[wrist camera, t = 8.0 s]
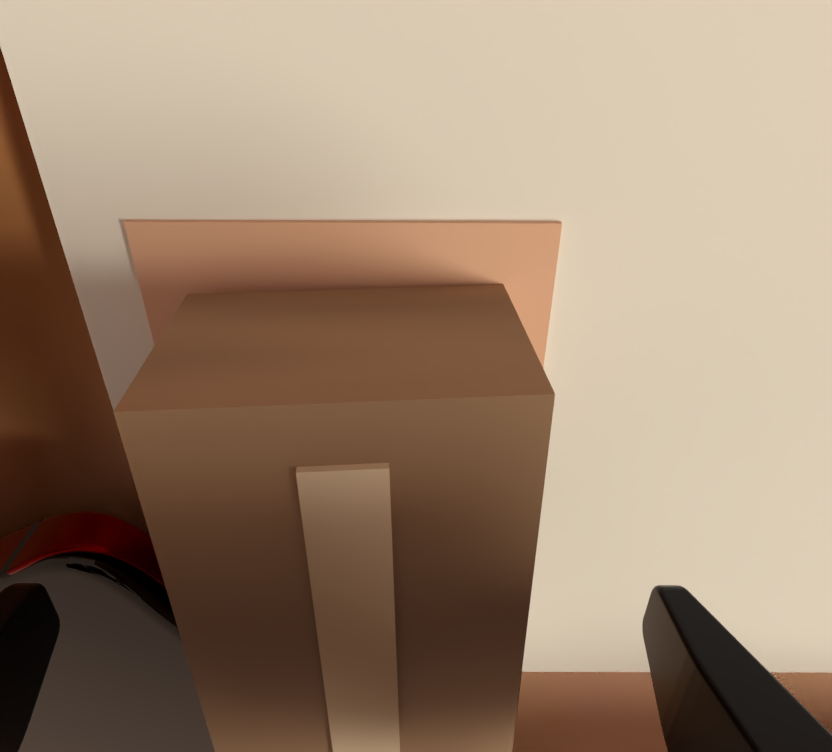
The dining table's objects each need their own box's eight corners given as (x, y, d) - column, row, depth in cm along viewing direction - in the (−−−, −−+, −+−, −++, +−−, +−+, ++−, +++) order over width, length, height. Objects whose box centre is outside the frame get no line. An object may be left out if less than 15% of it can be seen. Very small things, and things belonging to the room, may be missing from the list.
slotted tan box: (479, 643, 13) (507, 804, 11) (261, 656, 13) (233, 825, 10) (503, 283, 9) (557, 399, 7) (187, 293, 9) (110, 417, 6)
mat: (1442, -85, 7) (1532, -89, 7) (924, 649, 15) (945, 677, 14) (-12, -92, 7) (-49, -96, 7) (201, 647, 15) (192, 675, 14)
